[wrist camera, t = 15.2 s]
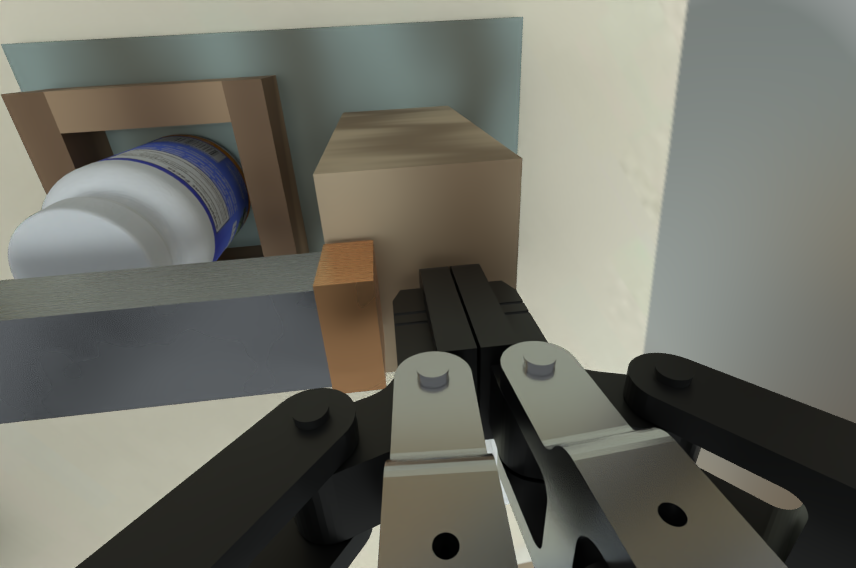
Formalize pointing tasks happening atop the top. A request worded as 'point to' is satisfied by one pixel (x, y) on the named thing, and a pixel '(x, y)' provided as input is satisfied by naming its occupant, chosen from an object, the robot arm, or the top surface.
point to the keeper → (190, 333)
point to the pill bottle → (136, 211)
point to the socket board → (311, 133)
